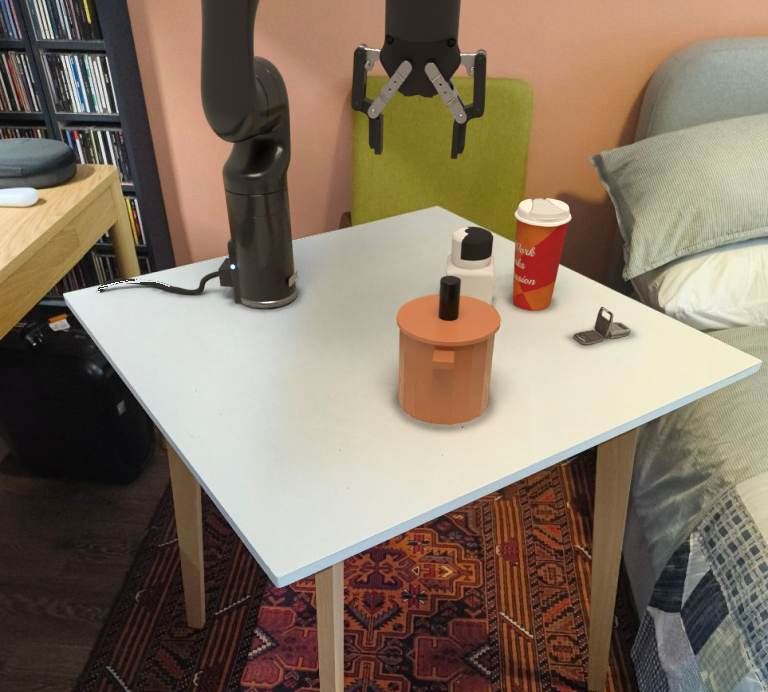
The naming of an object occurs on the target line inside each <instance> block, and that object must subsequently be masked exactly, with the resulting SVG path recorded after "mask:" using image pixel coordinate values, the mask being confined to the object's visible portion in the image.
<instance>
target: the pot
mask: <svg viewBox="0 0 768 692" xmlns="http://www.w3.org/2000/svg"><path fill="white" fill-rule="evenodd" d="M398 329H399V328H398ZM495 337H496V334H494V335H493V336H492V337H490V338H489V339H486V340H484V341H482V342H479V343H475V344H470V345H464V346H439V345H432V344H428V343H424V342H420V341H417V340H415V339H413V338H411V337H409V336H407V335H406V334H404V333H403V332H402V331H401V330H400V329H399V331H398V396H397V398H398V404H399V405H400V408H401V409H402V411H403V412H404V413H406V414H408V415H409V416H410V417H412V418H413V419H415V420H418V421H422V422H425V423H428V424H432V425H444V426H445V425H448V426H452V425H458V424H463V423H468V422H470V421H472V420H475V419H477V418H479V417H481V415H482V414H483V413H484V412H485V411H486V410H487V409H488V405H489V395H490V386H491V378H492V377H491V376H492V375H491V374H492V368H493V367H492V366H493V357H494V347H495V339H496V338H495Z"/></svg>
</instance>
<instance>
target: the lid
mask: <svg viewBox="0 0 768 692" xmlns="http://www.w3.org/2000/svg"><path fill="white" fill-rule="evenodd" d="M460 289H461V279H460V278H458V277H456V276H446V275H445V276H442V277H440V279H439V293H438V294H429V295H424V296H420V297H416V298H414V299H411V300H409V301H406V303H404V304H403V305H402V306H401V307H400V308H399V309H398V310H397V313H396V316H395V317H396V318H395V319H396V325H397V328H398V329H400V330H401V331H402V332H403V333H404V334H406V335H407V336H409V337H411V338H413V339H415V340H417V341H420V342H424V343H428V344H432V345H439V346H464V345H470V344H475V343H479V342H482V341H484V340H486V339H489V338H490V337H492V336H493V335H494V334H495V335H496V334H497V333H498V331H499V330H500V328H501V323H502V320H501V319H502V318H501V315H500V313H499V312H498V310H497V309H496V307H494V306H493V305H492V306H491V305H489V304H488V303H486V302H484V301H481V300H479V299H476V298H472V297H468V296H462V295H460Z"/></svg>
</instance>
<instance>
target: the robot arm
mask: <svg viewBox="0 0 768 692" xmlns="http://www.w3.org/2000/svg"><path fill="white" fill-rule="evenodd" d="M461 3H462V0H385V2H384V4H385V5H384V6H385V7H384V41H383V44H382V47H370V46H368V45H367V44H365V43H360V44H359V45H358V46H357V47H356V48H355V50H354V52H353V62H352V80H351V81H352V83H351V103H350V105H351V108H352V110H353V111H354V112H360V113H362V114H365V116H367V119H368V145H369V148H370V150H374V151H373V153H374V156H375V155H376V156H381V155H382V153H383V151H384V120H385V119H384V118H385V116H384V114H382V112H383V110H384V109H385V107H386V106H387V104H388V103H389V102H390V101H391V99H392V98H393V96H394V95H395V94H396V93H397V92H398V93H399V94H401V95H403V97H408V98H409V97H415V96H420V97H423V98H430V99H433V98H434V97H436V96H440V98H441V100H442V102H443V103H444V104H445V106H446V107H447V108H448V110H449V112H450V114H451V115H452V116H453V118H454V119H453V122H452V133H451V135H452V136H451V137H452V138H451V150H450V159H451V160H458V156H459V155H462V154H463V153H464V151H465V147H466V137H467V127H468V126H467V125H468V122H470V121H471V120H473V119H479V118H482V117H483V116H484V114H485V109H486V91H487V90H486V89H487V87H486V86H487V66H488V65H487V62H488V53H487V51H486V50H485V49H483V48H480V49H478V50H476V52H473V51H472V52H461V49H460V46H459V30H460V16H461ZM259 4H260V0H200V7H201V9H200V10H201V47H200V48H201V49H200V99H201V106H202V111H203V113H204V114H203V115H204V117H205V119H206V122H207V124H208V126H209V127H210V129H211V130H212V132H213V133H214V134H215V135H216V136H217V137H219V138H220V139H221V140H222V141H224V142H226V143H231V144H232V149H231V151H230V153H229V156H228V157H227V159H226V160H225V162H224V163H223V166H222V171H221V172H222V173H221V174H222V181H223V182H222V183H223V189H224V198H225V205H226V212H227V220H228V227H229V235H230V239H229V240H228V242H227V253H228V257H226V258H225V259H224V260H223V262H222V263H221V265H220V266H219V267H218V269H217V271H216V270H215V271H213V272H211V273H208V274H206V275H205V276H203V277H202V278H201V279H200V280H199V284H198V287H197V288H196V289H187V288H183V287H180V286H174V285H170V287H168V286H165V285H163V284H160V283H156V282H140V283H126V284H127V285H128V284H129V285H137V286H146V287H155V288H160V289H163V290H165V291H169V292H172V293H177V294H182V295H185V296H196V295H200V294H202V293H203V292H204V290H205V288H206V284H207V283H208V282H209V281H210V280H212V279H215V278H218V279H219V286H220V287H221V288H223V287H225V288H226V287H227V288H232V290H233V291H232V292H233V299H234V303H237V304H239V303H240V304H242V305H244V306H246V307H250V308H254V309H273V308H279V307H282V306H285V305H288V304H290V303H292V302H293V301H295V299H296V298H297V295H298V291H297V290H298V289H297V279H298V278H299V270H298V269H297V270H296V271H295V258H294V247H293V246H294V245H293V234H292V233H293V232H292V221H291V210H290V196H289V185H288V184H289V183H288V170H289V167H290V164H291V160H292V159H291V157H292V144H291V143H292V142H291V141H292V140H291V114H290V101H289V100H290V99H289V94H288V90H287V86H286V83H285V79H284V77H283V75H282V73H281V71H280V70H279V69H278V67H277V66H276V65H275V64H274V63H273V62H272V61H270V60H269V59H268V58H265V57H262V56H258V55H255V28H256V27H255V26H256V18H257V12H258V9H259ZM377 61H379V62H380V64H381V66H382V68H383V69H384V71H385V73H386V74H387V76H388V80H387V82H386V83H385V84H384V85H383V86H382V88H381V90H380V91H379V92H378V94H377V95H376V97H375V98H374V99H371V98H369V97H367V84H368V72H371V71H372V70H373V68H374V67H375V63H376V62H377ZM460 66H463V67H465V69H466V74H467V75H468V77H471V78H473V86H472V87H473V89H472V91H473V93H472V102H471V103H468V104H465V103H464V101H463V99H462V97H461V95H460V94H459V91H458V89H457V87H456V85H455V83H454V82H453V80H452V77H453V76H454V74H456V73H457V71H458V69H459V68H460ZM135 279H136V280H137V279H138V278H131V277H130V278H129V277H120V278H113V279H109V280H107V281H105V282H104V283H102V284H100V286H103V285H107V284H111V283H115V282H119V283H123V282H120V281H125V282H128V281H135ZM126 280H128V281H126ZM157 282H159V281H158V280H157ZM160 282H161V281H160ZM161 283H164V282H161ZM164 284H166V282H165V283H164ZM115 285H119V284H118V283H116V284H115ZM115 285H114V284H113V285H111V286H115ZM100 286H98V287H97V289H100V288H104V287H107V288H109V287H108V286H104V287H100ZM111 286H110V287H111ZM105 290H106V289H100V290H98V291H100V293H103V292H104V291H105ZM100 293H99V294H100Z"/></svg>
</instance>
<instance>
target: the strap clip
mask: <svg viewBox="0 0 768 692" xmlns="http://www.w3.org/2000/svg"><path fill="white" fill-rule="evenodd" d="M603 312H605V313H607V314H608V315H609V319H608V318H606V317H605V316H604V315H603ZM630 334H631V328H630V327H628V326H627V325H626V324H624V323H623V322H620V321H614V312H612V311H610V310H609V309H607V308H606V307H605V306H601V307H600V308H599V310H598V313H597V315H596V318H595V323H594V326H593V329H591V330H584V331H580V332H576V333H574V334H573V338H574V339H575V340H577V341H578V342H579V343H580V344H582V345H593V344H596V343H597V344H598V343H601V342H603V341H604V339H605V338H607V339H610V340H614V339H619V338H623V337H627V336H628V335H630ZM583 339H584V340H583Z"/></svg>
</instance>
